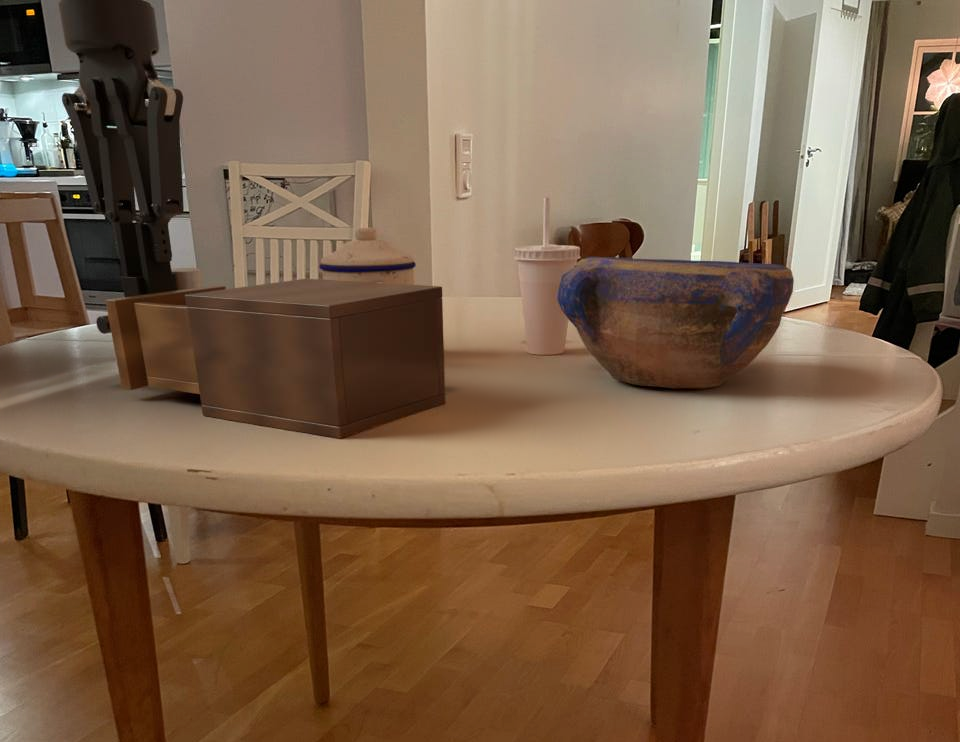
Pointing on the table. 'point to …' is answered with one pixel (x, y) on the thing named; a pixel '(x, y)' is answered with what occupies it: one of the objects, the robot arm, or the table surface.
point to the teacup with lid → (368, 261)
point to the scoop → (180, 276)
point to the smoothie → (544, 291)
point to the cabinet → (318, 353)
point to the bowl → (674, 316)
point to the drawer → (153, 340)
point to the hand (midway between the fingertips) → (150, 298)
